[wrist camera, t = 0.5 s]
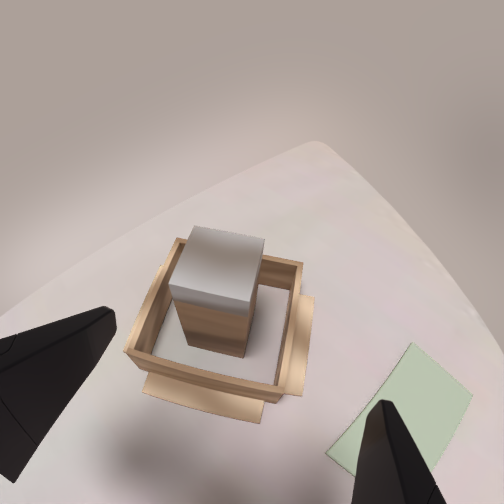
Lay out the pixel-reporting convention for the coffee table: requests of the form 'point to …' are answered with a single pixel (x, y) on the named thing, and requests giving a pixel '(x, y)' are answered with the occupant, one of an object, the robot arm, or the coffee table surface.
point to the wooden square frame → (212, 384)
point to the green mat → (412, 409)
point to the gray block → (217, 289)
